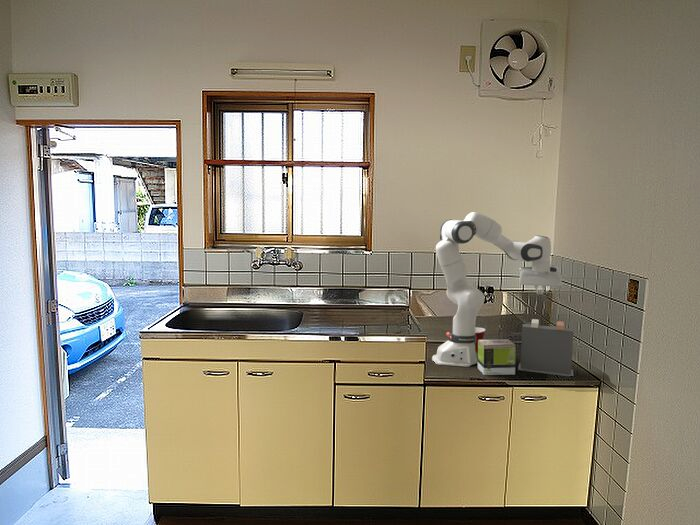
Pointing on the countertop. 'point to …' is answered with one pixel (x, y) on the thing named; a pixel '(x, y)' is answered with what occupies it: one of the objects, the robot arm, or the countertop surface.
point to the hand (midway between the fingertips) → (539, 294)
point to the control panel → (546, 350)
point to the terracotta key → (560, 325)
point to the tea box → (496, 357)
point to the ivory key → (535, 323)
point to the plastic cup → (479, 336)
